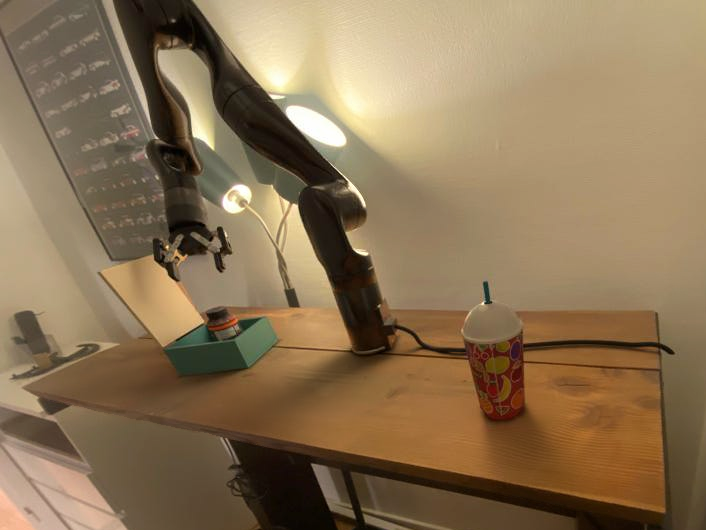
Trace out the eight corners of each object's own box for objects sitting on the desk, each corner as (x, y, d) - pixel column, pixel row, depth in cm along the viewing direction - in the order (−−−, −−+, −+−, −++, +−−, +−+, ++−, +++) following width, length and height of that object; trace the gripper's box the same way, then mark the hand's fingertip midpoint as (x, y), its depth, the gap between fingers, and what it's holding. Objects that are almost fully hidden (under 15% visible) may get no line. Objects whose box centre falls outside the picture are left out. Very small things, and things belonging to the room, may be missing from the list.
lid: (154, 253, 84) (136, 260, 85) (99, 271, 72) (79, 278, 73) (204, 321, 92) (188, 327, 93) (163, 347, 80) (144, 353, 81)
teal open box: (278, 340, 94) (267, 315, 91) (248, 367, 83) (234, 340, 79) (217, 348, 96) (204, 323, 92) (179, 376, 84) (162, 349, 81)
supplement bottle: (226, 352, 90) (202, 308, 85) (253, 344, 92) (231, 301, 87) (222, 362, 85) (197, 316, 80) (250, 354, 87) (228, 309, 82)
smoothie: (473, 397, 60) (451, 277, 51) (524, 389, 60) (512, 267, 51) (478, 431, 53) (453, 298, 43) (536, 421, 53) (524, 286, 43)
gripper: (138, 208, 79) (148, 273, 75) (213, 196, 82) (226, 258, 78) (161, 231, 86) (172, 291, 82) (229, 219, 89) (242, 276, 85)
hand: (198, 275), depth 80 cm, fingers open, 8 cm apart
